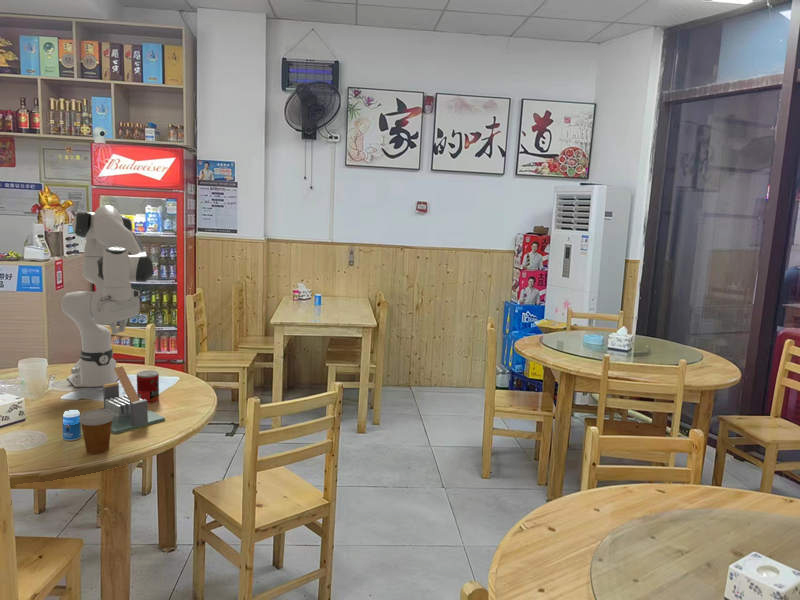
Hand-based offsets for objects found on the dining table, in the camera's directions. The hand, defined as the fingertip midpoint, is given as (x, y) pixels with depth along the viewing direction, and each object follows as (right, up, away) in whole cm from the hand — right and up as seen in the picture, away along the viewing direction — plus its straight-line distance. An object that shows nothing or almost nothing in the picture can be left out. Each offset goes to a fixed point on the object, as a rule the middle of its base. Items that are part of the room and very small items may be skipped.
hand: (118, 332), depth 209 cm
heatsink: (+1, -31, +3) cm, 31 cm away
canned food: (+1, -28, +23) cm, 37 cm away
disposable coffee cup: (+5, -36, -24) cm, 43 cm away
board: (0, -31, +4) cm, 31 cm away
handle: (+3, -20, 0) cm, 20 cm away
